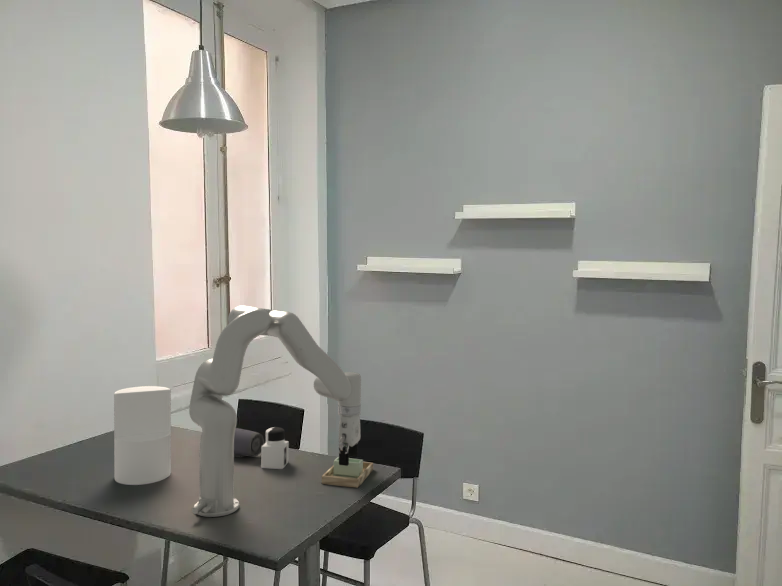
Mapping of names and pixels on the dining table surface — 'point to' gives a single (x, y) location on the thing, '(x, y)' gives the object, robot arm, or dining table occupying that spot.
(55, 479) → the dining table surface
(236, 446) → the bluetooth speaker
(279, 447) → the container
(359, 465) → the small crate
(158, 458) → the cylinder
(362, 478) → the wooden tray
